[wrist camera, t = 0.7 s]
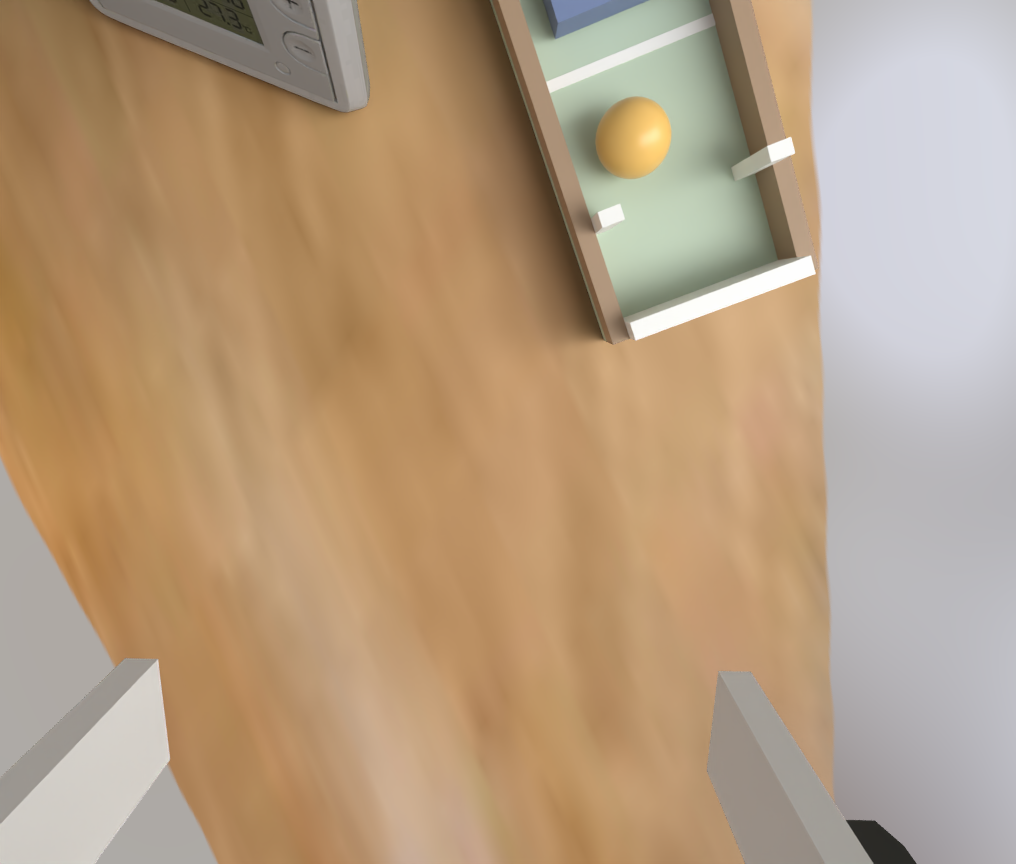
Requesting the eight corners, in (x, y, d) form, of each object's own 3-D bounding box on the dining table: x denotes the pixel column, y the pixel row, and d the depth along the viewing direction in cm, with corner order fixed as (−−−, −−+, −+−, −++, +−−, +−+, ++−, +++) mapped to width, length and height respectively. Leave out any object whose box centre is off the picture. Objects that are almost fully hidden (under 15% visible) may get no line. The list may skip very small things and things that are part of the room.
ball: (581, 125, 34) (590, 103, 30) (648, 98, 34) (666, 72, 30) (603, 195, 35) (615, 182, 31) (670, 169, 35) (690, 153, 31)
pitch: (443, -137, 32) (428, -234, 26) (658, -233, 31) (692, -356, 25) (604, 340, 38) (621, 348, 32) (791, 271, 37) (844, 265, 31)
